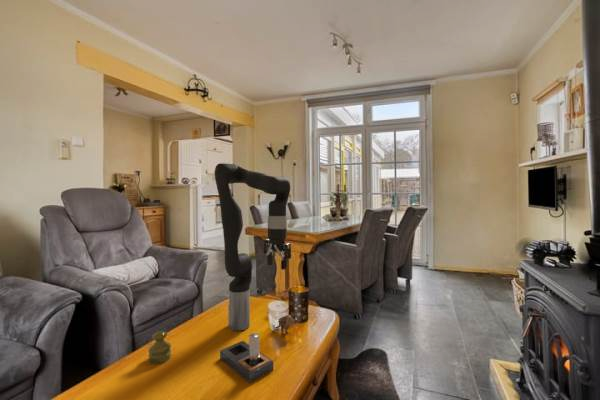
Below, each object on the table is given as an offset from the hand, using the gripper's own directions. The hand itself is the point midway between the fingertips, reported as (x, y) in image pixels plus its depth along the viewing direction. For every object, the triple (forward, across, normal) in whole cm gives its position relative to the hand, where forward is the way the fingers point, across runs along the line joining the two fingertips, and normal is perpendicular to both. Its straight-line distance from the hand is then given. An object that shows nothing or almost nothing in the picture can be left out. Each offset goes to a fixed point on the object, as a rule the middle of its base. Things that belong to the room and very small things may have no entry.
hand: (276, 267), depth 114 cm
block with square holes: (+32, +2, -16) cm, 36 cm away
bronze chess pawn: (+32, -23, -37) cm, 54 cm away
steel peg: (+32, +7, -16) cm, 36 cm away
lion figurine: (+32, -6, +9) cm, 34 cm away
